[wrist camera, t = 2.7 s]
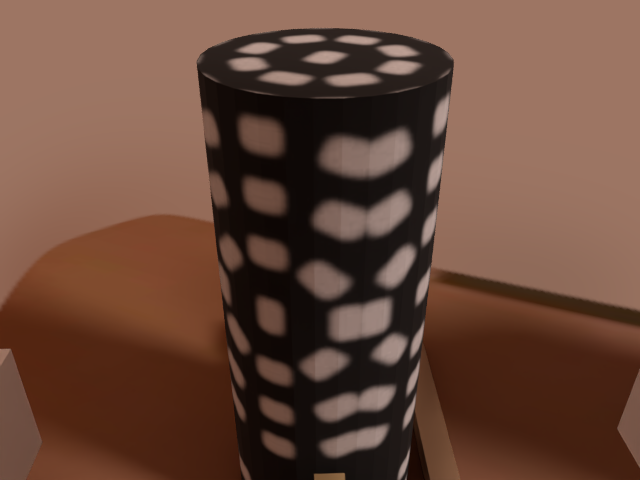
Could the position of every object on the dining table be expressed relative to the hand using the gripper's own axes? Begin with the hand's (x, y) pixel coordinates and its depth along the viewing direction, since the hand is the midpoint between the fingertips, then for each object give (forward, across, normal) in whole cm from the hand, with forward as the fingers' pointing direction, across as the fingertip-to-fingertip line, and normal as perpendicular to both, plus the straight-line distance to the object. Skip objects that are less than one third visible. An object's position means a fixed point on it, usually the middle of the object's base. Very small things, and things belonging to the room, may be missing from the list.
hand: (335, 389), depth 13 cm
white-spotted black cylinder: (+11, 0, -16) cm, 19 cm away
